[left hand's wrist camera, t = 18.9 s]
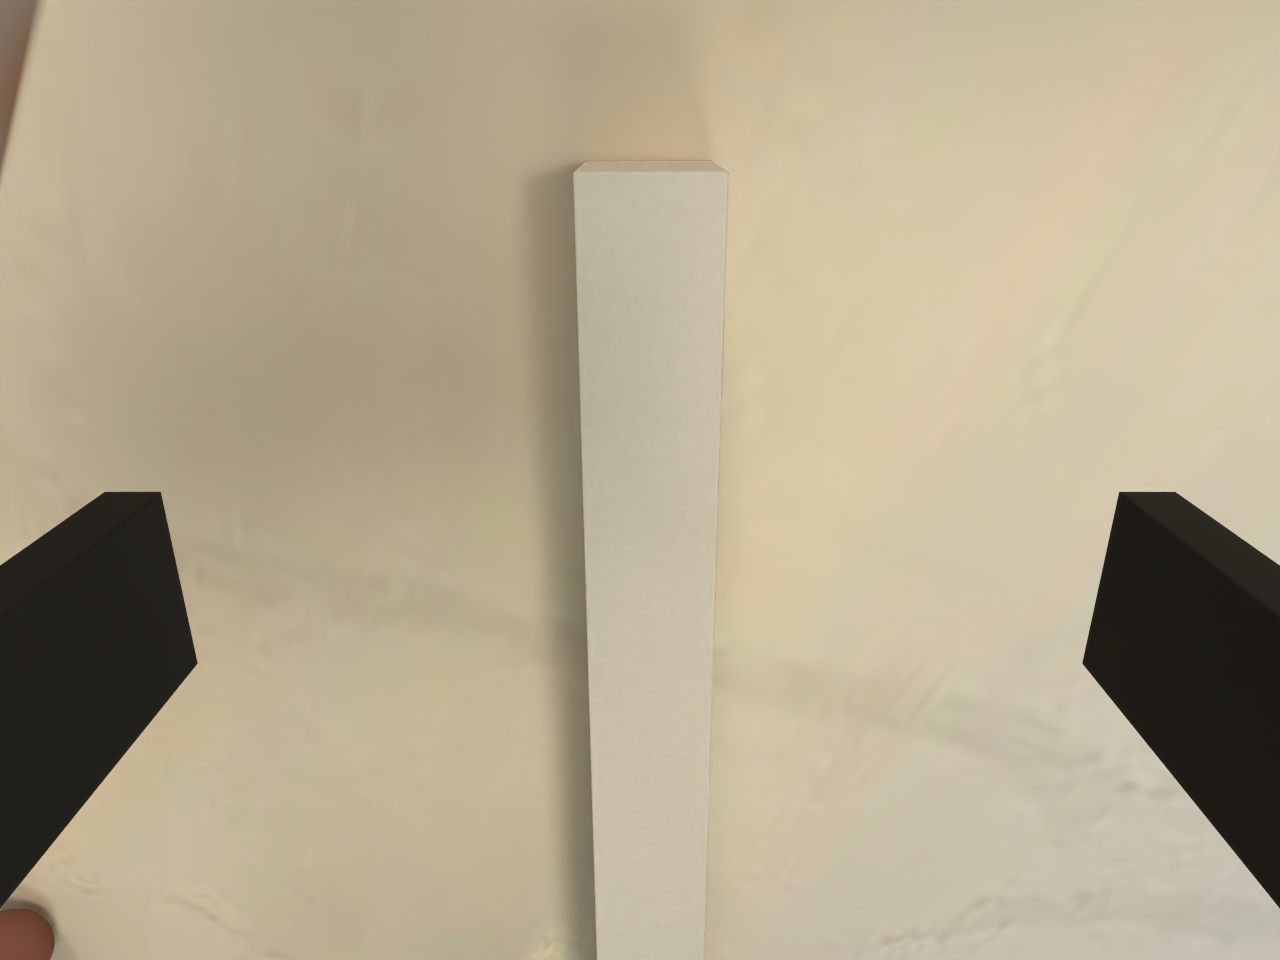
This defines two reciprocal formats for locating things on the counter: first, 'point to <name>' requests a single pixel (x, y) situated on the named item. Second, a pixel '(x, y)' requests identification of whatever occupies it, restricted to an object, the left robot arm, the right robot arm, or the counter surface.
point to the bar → (650, 536)
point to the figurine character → (25, 936)
